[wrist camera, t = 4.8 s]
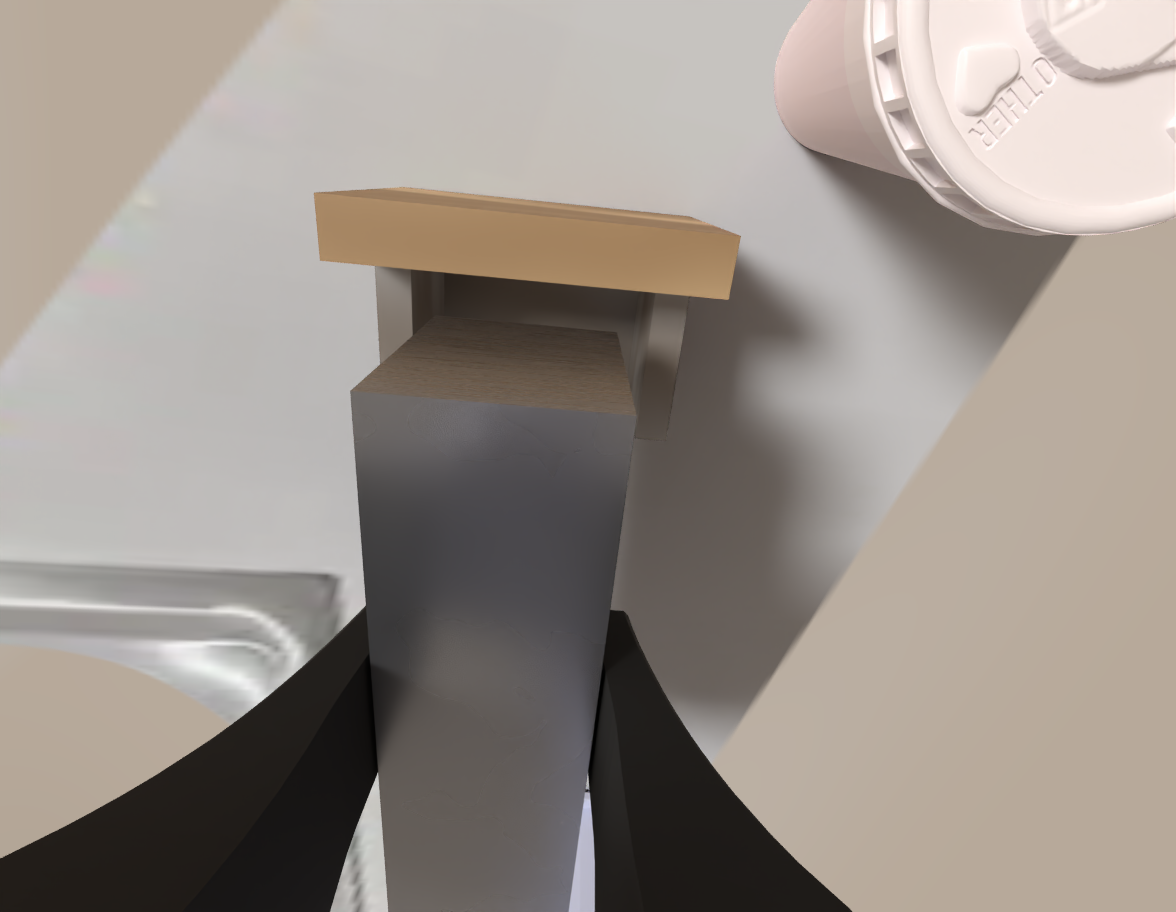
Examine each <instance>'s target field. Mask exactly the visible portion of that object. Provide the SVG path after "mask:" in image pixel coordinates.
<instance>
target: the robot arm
mask: <svg viewBox="0 0 1176 912" xmlns="http://www.w3.org/2000/svg"><path fill="white" fill-rule="evenodd" d="M377 773H378V762H377V748H376V734H375V721H374V707H373V693H372V680H371V666H370V652H369V639H368V625H367V612H366V606H365V607H364V608H363V609H362V610H361V611H360V612H359V613H358V614H357V615H356V616H355V617H354V618H353V619H352V620H351V621H350V622H349V623H348V624H347V625H346V626H345V627H344V628H343V629H342V630H341V631H340V632H339V633H338V634H337V635H336V636H335V637H334V638H333V639H332V640H331V641H330V642H329V643H328V644H327V645H325V646H324V647H323V648H322V649H321V650H320V651H319V652H318V653H317V654H316V655H315V656H314V657H313V658H312V659H310V660H309V661H308V662H307V663H306V664H305V665H304V666H303V667H302V668H301V669H299V670H298V671H297V672H296V673H295V674H294V675H292V676H291V677H290V678H289V679H288V680H287V681H285V682H284V683H283V684H282V685H281V686H279V687H278V688H277V689H276V690H275V691H274V692H272V693H271V694H270V695H269V696H268V697H266V698H265V699H264V700H263V701H262V702H260V703H259V704H258V705H256V706H255V707H254V708H253V709H251V710H250V711H249V712H248V713H246V714H245V715H244V716H242V717H241V718H240V719H238V720H237V721H236V722H234V723H233V724H232V725H230V726H229V727H227V728H226V729H225V730H223V731H222V732H221V733H219V734H218V735H216V736H215V737H214V738H212V739H211V740H210V741H208V742H207V743H205V744H203V745H202V746H200V747H199V748H197V749H196V750H194V751H193V752H191V753H190V754H188V755H187V756H185V757H183V758H182V759H180V760H179V761H177V762H176V763H174V764H173V765H171V766H169V767H168V768H166V769H165V770H163V771H162V772H160V773H159V774H157V775H155V776H154V777H152V778H151V779H149V780H147V781H145V782H144V783H142V784H140V785H139V786H137V787H135V788H134V789H132V790H130V791H129V792H127V793H125V794H123V795H122V796H120V797H118V798H117V799H115V800H113V801H111V802H109V803H107V804H105V805H104V806H102V807H100V808H98V809H96V810H95V811H93V812H91V813H89V814H87V815H86V816H84V817H82V818H80V819H78V820H76V821H74V822H72V823H71V824H69V825H67V826H65V827H63V828H61V829H59V830H57V831H55V832H53V833H51V834H49V835H47V836H45V837H43V838H41V839H39V840H37V841H35V842H33V843H31V844H29V845H27V846H25V847H23V848H21V849H19V850H17V851H15V852H13V853H11V854H9V855H7V856H5V857H3V858H0V912H330V910H331V906H332V903H333V899H334V896H335V893H336V889H337V886H338V882H339V879H340V876H341V872H342V869H343V865H344V862H345V859H346V855H347V852H348V849H349V846H350V843H351V841H352V838H353V835H354V832H355V829H356V826H357V824H358V821H359V819H360V816H361V814H362V811H363V809H364V806H365V803H366V801H367V798H368V796H369V793H370V791H371V788H372V786H373V783H374V781H375V778H376V776H377ZM588 777H589V789H590V792H585V796H584V803H583V811H582V818H581V825H580V833H579V840H578V847H577V854H576V862H575V869H574V876H573V884H572V891H571V898H570V905H569V912H852V911H851V910H850V909H849V908H848V907H847V906H846V905H845V904H844V903H843V902H842V901H840V900H839V899H838V898H837V897H836V896H835V895H834V894H833V893H832V892H830V891H829V890H828V889H827V888H826V887H825V886H824V885H823V884H821V882H819V881H818V880H817V879H816V878H815V877H814V876H813V875H812V874H811V873H809V872H808V871H807V870H806V869H805V868H804V867H803V866H802V865H800V864H799V863H798V862H797V861H796V860H795V859H794V858H793V857H792V856H791V854H790V853H788V851H787V850H785V848H784V847H783V846H782V845H780V843H779V842H778V841H777V840H776V839H775V838H773V836H772V835H771V834H770V833H769V832H768V831H767V830H766V828H765V827H764V826H763V825H762V824H761V823H760V822H759V821H758V819H757V818H756V817H755V816H754V815H753V814H752V813H751V812H750V810H749V809H748V808H747V807H746V806H745V805H744V804H743V803H742V801H741V800H740V799H739V798H738V797H737V796H736V795H735V794H734V792H733V791H732V790H731V789H730V787H728V785H727V784H726V782H725V781H724V780H723V779H722V777H721V776H720V775H719V774H718V772H717V771H716V770H715V769H714V767H713V766H712V764H711V763H710V762H709V760H708V759H707V758H706V756H705V755H704V754H703V752H702V751H701V750H700V748H699V747H698V745H697V744H696V742H695V741H694V740H693V738H692V737H691V735H690V734H689V732H688V731H687V729H686V728H685V726H684V724H683V723H682V721H681V720H680V718H679V717H678V715H677V713H676V712H675V710H674V709H673V707H672V705H671V704H670V702H669V700H668V698H667V697H666V695H665V693H664V691H663V690H662V688H661V686H660V684H659V682H658V680H657V679H656V677H655V675H654V673H653V671H652V669H651V667H650V665H649V663H648V661H647V659H646V657H645V655H644V653H643V651H642V649H641V647H640V645H639V642H638V640H637V638H636V635H635V633H634V631H633V628H632V626H631V623H630V620H629V617H628V615H627V614H626V613H625V612H624V611H615V610H610V614H609V621H608V629H607V636H606V643H605V650H604V658H603V665H602V672H601V680H600V687H599V694H598V701H597V709H596V716H595V723H594V731H593V738H592V745H591V752H590V760H589V767H588Z"/></svg>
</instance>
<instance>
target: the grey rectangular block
mask: <svg viewBox="0 0 1176 912" xmlns="http://www.w3.org/2000/svg"><path fill="white" fill-rule="evenodd" d="M350 393H351V407H352V421H353V434H354V448H355V461H356V475H357V489H358V502H359V516H360V530H361V543H362V557H363V571H364V584H365V598H366V612H367V625H368V639H369V652H370V666H371V680H372V693H373V707H374V721H375V734H376V748H377V762H378V775H379V789H380V803H381V816H382V830H383V843H384V857H385V871H386V884H387V898H388V912H569V905H570V898H571V891H572V884H573V876H574V869H575V862H576V854H577V847H578V840H579V833H580V825H581V818H582V811H583V803H584V796H585V789H586V782H587V774H588V767H589V760H590V752H591V745H592V738H593V731H594V723H595V716H596V709H597V701H598V694H599V687H600V680H601V672H602V665H603V658H604V650H605V643H606V636H607V629H608V621H609V614H610V607H611V600H612V592H613V585H614V578H615V570H616V563H617V556H618V549H619V541H620V534H621V527H622V519H623V512H624V505H625V498H626V490H627V483H628V476H629V468H630V461H631V454H632V447H633V439H634V432H635V425H636V417H637V415H636V411H635V406H634V402H633V398H632V394H631V389H630V385H629V381H628V377H627V373H626V368H625V364H624V360H623V356H622V351H621V347H620V343H619V339H618V334H617V332H610V331H600V330H589V329H578V328H567V327H556V326H546V325H535V324H524V323H513V322H503V321H492V320H481V319H470V318H460V317H449V316H438V315H435V316H434V317H433V318H432V319H431V320H430V321H428V322H427V323H426V324H425V325H424V326H423V327H422V328H421V329H419V330H418V331H417V332H416V333H415V334H414V335H413V336H412V337H411V338H409V339H408V340H407V341H406V342H405V343H404V344H403V345H402V346H400V347H399V348H398V349H397V350H396V351H395V352H394V353H393V354H391V355H390V356H389V357H388V358H387V359H386V360H385V361H384V362H382V363H381V364H380V365H379V366H378V367H377V368H376V369H375V370H373V371H372V372H371V373H370V374H369V375H368V376H367V377H366V378H365V379H363V380H362V381H361V382H360V383H359V384H358V385H357V386H356V387H354V388H353V389H352V390H351V391H350Z"/></svg>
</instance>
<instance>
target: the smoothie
mask: <svg viewBox="0 0 1176 912" xmlns="http://www.w3.org/2000/svg"><path fill="white" fill-rule="evenodd" d="M774 94H775V101H776V106H777V109H778V113H779V115H780V118H781V120H782V122H783V124H784V126H785V127H786V129H787V130H788V132H789V133H790V134H791V135H792V136H793V137H794V138H795V139H796V140H797V141H798V142H799V143H801V144H802V145H804V146H805V147H807V148H809V149H812V150H814V151H817V152H820V153H824V154H827V155H830V156H834V157H837V158H840V159H844V160H847V161H850V162H854V163H857V164H860V165H864V166H867V167H870V168H874V169H877V170H880V171H884V172H887V173H890V174H894V175H897V176H900V177H904V178H907V179H910V180H914V181H917V182H918V183H919V184H920V185H921V186H922V187H923V188H924V189H925V191H926V192H927V193H928V194H929V195H930V196H931V197H932V198H933V199H934V200H935V201H936V202H937V203H939V204H941V205H942V206H944V207H946V208H948V209H950V210H952V211H954V212H956V213H958V214H959V215H961V216H963V217H965V218H967V219H969V220H971V221H973V222H975V223H977V224H978V225H980V226H982V227H985V228H991V229H997V230H1003V231H1009V232H1015V233H1021V234H1027V235H1033V236H1044V235H1053V234H1063V235H1087V236H1088V235H1103V234H1114V233H1120V232H1126V231H1131V230H1137V229H1141V228H1145V227H1149V226H1152V225H1156V224H1160V223H1163V222H1166V221H1169V220H1172V219H1174V218H1176V0H810V2H809V3H808V5H807V6H806V7H805V9H804V10H803V12H802V13H801V14H800V16H799V17H798V19H797V20H796V21H795V23H794V24H793V26H792V27H791V29H790V30H789V32H788V34H787V36H786V38H785V40H784V42H783V44H782V47H781V49H780V52H779V55H778V58H777V63H776V67H775V75H774Z"/></svg>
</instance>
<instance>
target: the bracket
mask: <svg viewBox="0 0 1176 912" xmlns="http://www.w3.org/2000/svg"><path fill="white" fill-rule="evenodd" d="M314 199H315V210H316V221H317V232H318V243H319V254H320V261H330V262H341V263H351V264H361V265H372V266H375V277H376V296H377V314H378V332H379V351H380V364H381V363H382V362H384V361H385V360H386V359H387V358H388V357H389V356H390V355H391V354H393V353H394V352H395V351H396V350H397V349H398V348H399V347H400V346H402V345H403V344H404V343H405V342H406V341H407V340H408V339H409V338H411V337H412V336H413V335H414V334H415V333H416V332H417V331H418V330H419V329H421V328H422V327H423V326H424V325H425V324H426V323H427V322H428V321H430V320H431V319H432V318H433V317H434V316H435V315H438V316H449V317H460V318H470V319H481V320H492V321H503V322H513V323H524V324H535V325H546V326H556V327H567V328H578V329H589V330H600V331H610V332H617V334H618V339H619V343H620V347H621V351H622V356H623V360H624V364H625V368H626V373H627V377H628V381H629V385H630V389H631V394H632V398H633V402H634V406H635V411H636V415H637V417H636V425H635V432H634V435H635V438H637V439H649V440H661V441H666V437H667V431H668V425H669V419H670V413H671V407H672V401H673V395H674V389H675V382H676V376H677V370H678V364H679V358H680V352H681V346H682V340H683V334H684V328H685V322H686V316H687V309H688V303H689V297H690V296H694V297H704V298H715V299H725V300H729V295H730V290H731V284H732V279H733V274H734V269H735V264H736V258H737V253H738V248H739V243H740V237H741V236H739V235H736V234H734V233H731V232H729V231H726V230H723V229H721V228H718V227H715V226H713V225H710V224H708V223H705V222H702V221H700V220H697V219H694V218H692V217H688V216H678V215H669V214H659V213H649V212H639V211H630V210H620V209H610V208H600V207H591V206H581V205H571V204H561V203H552V202H542V201H532V200H522V199H513V198H503V197H493V196H483V195H474V194H464V193H454V192H444V191H435V190H425V189H415V188H405V187H399V188H383V189H367V190H351V191H335V192H319V193H314Z"/></svg>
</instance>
